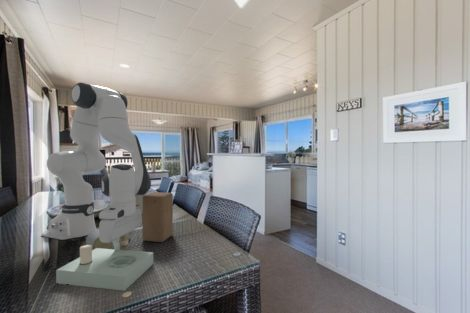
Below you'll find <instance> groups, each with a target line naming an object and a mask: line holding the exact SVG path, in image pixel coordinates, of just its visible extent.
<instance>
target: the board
mask: <svg viewBox="0 0 470 313" xmlns="http://www.w3.org/2000/svg"><path fill="white" fill-rule="evenodd" d="M153 265H154V252H153V251H152V252H151V251H140V250H139V251H138V250H120V249H119V250H115V249H112V248H110V249H102V248H96V249H94V250H92V245H87V244H85V245H81V246H80V247H79V257H77V258H75V259H74V260H72V261H70V262H67V263H66V264H65V265H63V266H61V267H59V268H57V269H56V270H55V273H56V276H55V279H56V282H55V283H56V284H57V283H58V285H66V284H69V285H68V286H77V287H88V288H96V289H105V290H114V291H115V290H116V291H126V290H127V289H128V288H130V287H131V285H132V284H134V283H135V282H136V281H137V280H138V279H140V277H141V276H142V275H144V273H145V272H147V270H149V268H151V267H152V266H153Z"/></svg>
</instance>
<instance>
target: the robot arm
mask: <svg viewBox="0 0 470 313" xmlns="http://www.w3.org/2000/svg"><path fill="white" fill-rule="evenodd" d="M72 87H73V88H72V90H71V101H72V102H73V104H74V105H75V106H76V108H75V111H74V114H73V117H72V121H71V127H70V133H69V137H70V138H71V140H72V141H73V142H74V143H76V144H77V147H78V148H77V150H63V151H61V150H60V151H56V152H52V153H51V154H50V155H49V156H48V158H47V160H46V168H47V169H48V171H49V172H50V173H51V174H52V175H54V176H55V177H57V178H58V179H59V180H60V182H61V183H62V184H61V185H62V186H63V191H64V204H63V205H59V209H61V212H60V213H59V214H57V215H56V216H55V217H54V218H52V219H51V220H50V221H49V222H48V228H47V230H45V231H44V232H43V231H42V233H41V237H46V238H50V239H56V240H62V241H63V240H70V239H75V238H82V237H84V236H86V237H87V236H88V235H89V233H91V232H92V231H94V230H96V229H97V226H96V222H95V215H94V211H95V210H94V209H95V205H94V204H95V202H94V201H93V200H94V198H93V197H94V196H93V195H94V193H93V192H94V190H93V186H92V184H90V182H87V181H85V179H84V178H83V175H84V174H92V173H93V174H95V173H97V172H100V171H103V170H104V168H105V167H106V164H107V160H106V157H105V155H104V154H103V153H102V152H101V151H100V147H99V135H100V136H101V137H102V139H104V140H105V141H106V142H107V143H109V144H112V145H114V146H118V147H119V148H120V147H121V148H123V149H124V150H126V151H128V152H129V154H130V157H131V160H132V163H133V164H132V165H130V164H127V163H126V164H123V163H122V164H121V163H120V164H115V165H112V166H111V167H110V172H109V173H106V174H105V175H103V176H102V177H101V179H100V180H101V181H100V184H101V186H100V189H101V190H100V193H102V194H103V195H104V196H105V197H109V198H110V199H109V204H108V205H107V206H106V207H105V208H104V209H103V210H101V211H100V212H99V213H98V218H99V220H100V221H99V224H98V229H99V239H100V241H101V242H105V243H110V242H113V244H114V249H115V250H120V249H121V244H120V243H119V240H120V237H121V236H123V235H125V234H127V233H128V244H131V243H132V242H133V235H134V233H135V230H136V229H138V228H140V227H142V226H143V220H142V213H141V210H140V206H139V205H138V204H136V197H135V195H144V194H146V195H147V194H148V192H149V190H150V189H151V187H152V180H151V176H150V174H149V172H148V168H147V165H146V162H145V158H144V153H143V150H142V146H141V143H140V140H139V138H138V136H137V135H136V134H135V133H133V131H132V130H131V128H130V126H129V120H128V112H127V108H128V105H129V104H128V97H127V96H126V95H125V94H123V92H120V91H117V90H113V89H111V88H108V87H105V86H99V85H97V84H96V85H95V84H90V83H89V82H78V83H76V84H74V86H72Z"/></svg>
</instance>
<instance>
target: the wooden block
mask: <svg viewBox="0 0 470 313" xmlns="http://www.w3.org/2000/svg"><path fill="white" fill-rule="evenodd" d="M173 196H174V195H173V193H172V192H159V191H153V192H151V193H146V195H144V196H143V197H142V241H145V242H152V243H153V242H156V243H163V242H165V241H166V240H168V239H169V238H170V237H172V236H173V234H174V233H173V232H174V231H173V230H174V228H173V226H174V224H173V221H174V220H173V219H174V218H173V211H174V207H173V206H174V204H173V201H174V199H173Z"/></svg>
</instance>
